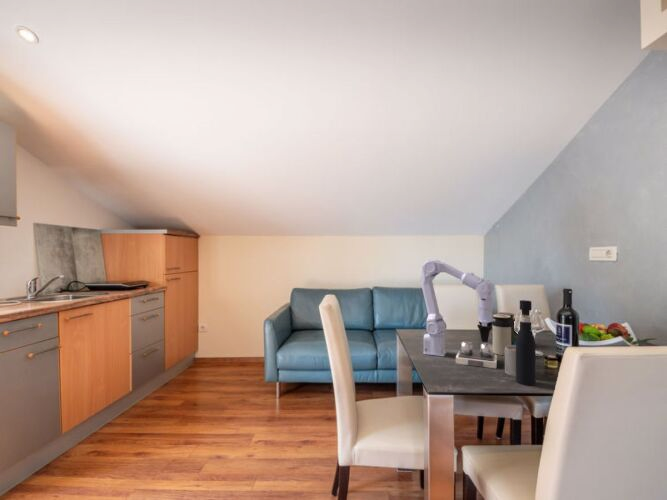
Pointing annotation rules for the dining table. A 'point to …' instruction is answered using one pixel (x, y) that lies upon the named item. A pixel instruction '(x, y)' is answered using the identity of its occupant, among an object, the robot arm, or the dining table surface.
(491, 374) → the dining table surface
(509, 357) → the grey upright block
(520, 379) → the black water bottle
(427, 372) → the dining table surface
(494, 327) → the travel mug
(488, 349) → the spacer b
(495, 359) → the cream u-shaped bracket
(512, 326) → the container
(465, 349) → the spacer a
